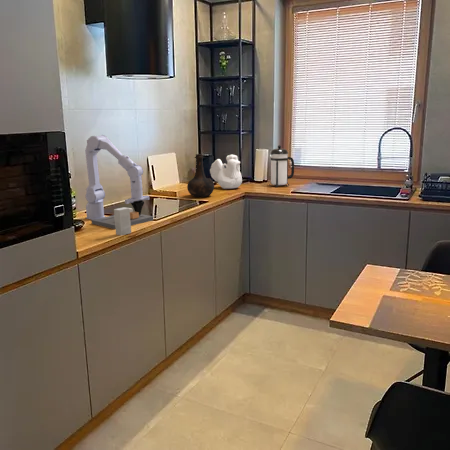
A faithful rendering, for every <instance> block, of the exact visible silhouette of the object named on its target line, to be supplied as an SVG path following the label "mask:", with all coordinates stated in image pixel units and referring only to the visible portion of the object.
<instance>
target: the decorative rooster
mask: <svg viewBox="0 0 450 450" xmlns="http://www.w3.org/2000/svg"><path fill="white" fill-rule="evenodd" d="M238 158H239V157H238V155H236V154H229V155H227V156H226V157H225V159H226V162H227V163H223V162H222V160H221V159H220V158H217V159H216V160H214V162H213V163H211V166H210V169H209V174H210V176H211V178H212V179H213V180H214V181H215V182H217V183H218V185H219V186H220V187H221V188H222V189H224V190H227V189H229V190H230V189H237V188H239V187H240V186H241V185H242V183H243V178H242V172H241V171H240V170H241V167H240V166H241V165H240V164H241V161H240V160H239V159H238Z"/></svg>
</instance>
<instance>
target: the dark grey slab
mask: <svg viewBox="0 0 450 450" xmlns="http://www.w3.org/2000/svg"><path fill="white" fill-rule="evenodd" d="M90 221H91V224H92V225H95V226H99V227H100V226H101V227H103V228H108V229H113V230H116V229H115V218H114V214H113V215H109V216H105V217H103V218H98V219H94V220H91V219H90ZM152 221H154V216H153V215H147V214H143V213H141V215H140V216H139V218H135V219H130V222H131V227H132V226H135V225H139V224H143V223H147V222H152Z"/></svg>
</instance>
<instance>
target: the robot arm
mask: <svg viewBox="0 0 450 450" xmlns="http://www.w3.org/2000/svg"><path fill="white" fill-rule="evenodd" d="M101 150H106V151H107V152H108V153H110V154H111V155H112V156H113V157H114V158H115V159H116V160H117V162H118V164H119V165H120V166H121V167H122V168H123V169H124V170H125V171H126V172H127V176H128V177H129V181H130V194H131V197H130V198H126V199H124V204H126V205H129V204H130V205H131V206H132V209H133V211H135V212H139V216H140V215H141V214H142V211H143V207H144V205H145V201H146V200H147V201H149V200H150V196H149V195H143V182H142V175H143V174H144V168H143V167H142V166H141V164H140V165H139V164H137V163H136V162H135V161H133V160H132V159H131V158H130V157H131V156H129V155H127V154H123V153H122V152H121V151H120V150H119V149H118V148H117V146H115V144H113V142H112V141H111V139H110V138H108V137H107V136H106V135H105V134H101V135H92V136H90V137H89V138H88V139H87V140H86V148H85V158H86V159H85V161H86V169H87V177H88V185H87V187H86V189H85V190H86V192H85V199H86V201H87V203H86V205H85V210H86V217H85V219H87V220H90V221H91V220H94V219H98V218H103V217H106V216H105V208H104V199H105V197H106V191H105V190H104V186H103V185H102V184H101V182H100V173H99V164H98V155H97V154H98V153H99V152H100V151H101Z"/></svg>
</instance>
